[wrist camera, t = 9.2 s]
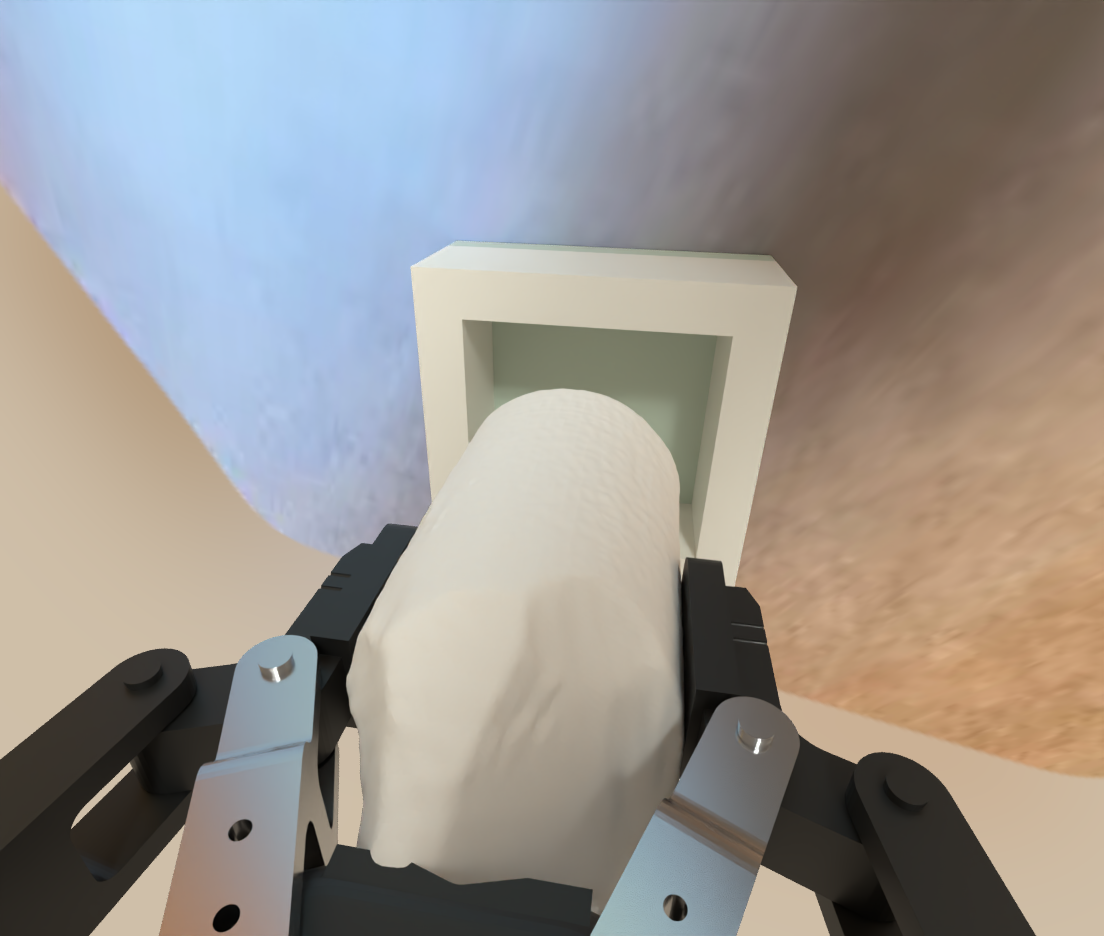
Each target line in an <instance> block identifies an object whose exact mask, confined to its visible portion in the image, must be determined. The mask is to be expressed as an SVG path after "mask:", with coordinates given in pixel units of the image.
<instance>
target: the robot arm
mask: <svg viewBox="0 0 1104 936" xmlns="http://www.w3.org/2000/svg"><path fill="white" fill-rule="evenodd" d="M417 528H418V527H416V526H406V525H397V524H387V525H386V526H385V527H384V528H383V530H382V531H381V533H380V534H379V536H378V537H377V539H376V540H375V541H374V543H373V544H365V543H361V544H360V545H358V546H357V547H356V548H354V549H353V550H351V551H350V552H348V553H347V554H345V555H344V556H343V557H342V558H341V559H340V561H339V562H338V563H337V565H336V566H335V567H334V569H333V570H332V571H331V575H330V576H328V577H327V578H326V580H325V581H324V582H323V584H322V585H321V589H318V591H317V592H316V593H315V595H314V596H313V598H312V599H311V600H310V601H309V603H308V604H307V606H306V607H305V608H304V610H303V611H302V612H301V614H300V615H299V617H298V618H297V619H296V621H295V622H294V623H293V625H292V626H291V627H290V629H289V630H288V631H287V633H286V634H285V635H284V636H278V637H273V638H270V639H267V640H265V641H263V642H261V643H259V644H257V645H255V646H254V647H253V648H251V649H250V650H248V651H247V652H246V653H245V654H244V655H243V656H242V658H241V659H240V660H239V662H238V663H236V664H231V665H223V666H215V667H207V668H199V669H192V668H191V665H190V663H189V660H188V658H187V656H186V655H185V654H183V653H182V652H180V651H178V650H174V649H155V650H150V651H146V652H143V653H140V654H137V655H135V656H133V657H131V658H129V659H127V660H125V661H123V662H122V663H120V664H119V665H117V666H116V667H115V668H113V669H112V670H111V671H110V672H108V673H107V674H106V675H105V676H103V677H102V678H101V679H100V680H98V681H97V682H96V683H95V684H93V685H92V686H91V687H90V688H88V689H87V690H86V691H85V692H84V693H82V694H81V695H80V696H79V697H77V698H76V699H75V700H74V701H72V702H71V703H70V704H69V705H67V706H66V707H65V708H64V709H62V710H61V711H60V712H59V713H57V714H56V715H55V716H54V717H53V718H51V719H50V720H49V721H48V722H46V723H45V724H44V725H43V726H41V727H40V728H39V729H38V730H36V731H35V732H34V733H33V734H31V735H30V736H29V737H28V738H27V739H25V740H24V741H23V742H22V743H20V744H19V745H18V746H17V747H15V748H14V749H13V750H12V751H10V752H9V753H8V754H7V755H6V756H4V757H3V758H2V759H0V936H89V935H90V934H91V933H92V932H93V930H94V929H95V928H96V927H97V926H98V924H99V923H100V922H101V921H102V920H103V919H104V918H105V916H106V915H107V914H108V913H109V912H110V911H111V909H112V908H113V907H114V906H115V905H116V904H117V902H118V901H119V900H120V899H121V898H122V897H123V895H124V894H125V893H126V892H127V891H128V890H129V888H130V887H131V886H132V885H133V884H134V883H135V881H136V880H137V879H138V878H139V877H140V876H141V874H142V873H143V872H144V871H145V870H146V869H147V868H148V866H149V865H150V864H151V863H152V862H153V860H154V859H155V858H156V857H157V856H158V855H159V853H160V852H161V851H162V850H163V849H164V848H165V847H166V845H167V844H168V843H169V842H170V841H171V840H172V838H173V837H174V836H175V835H176V834H177V833H178V831H179V830H180V829H181V828H182V827H183V825H184V824H185V827H184V832H183V836H182V840H181V844H180V848H179V853H178V857H177V861H176V865H175V870H174V874H173V878H172V882H171V886H170V891H169V895H168V899H167V904H166V908H165V912H164V916H163V921H162V924H161V929H160V933H159V936H736V935H737V932H738V929H739V926H740V923H741V920H742V917H743V914H744V911H745V909H746V906H747V903H748V900H749V897H750V894H751V891H752V888H753V885H754V882H755V879H756V876H757V873H758V870H759V867H760V864H761V865H763V866H765V867H766V868H769V869H770V870H772V871H775V872H776V873H778V874H780V875H782V876H784V877H786V878H788V879H790V880H792V881H794V882H796V883H798V884H800V885H802V886H804V887H806V888H808V889H810V890H812V891H814V892H815V894H816V897H817V900H818V903H819V906H820V908H821V911H822V914H823V917H824V920H825V923H826V925H827V928H828V931H829V934H830V936H1036V935H1035V934H1034V932H1033V930H1032V928H1031V927H1030V925H1029V923H1028V922H1027V920H1026V919H1025V917H1024V916H1023V914H1022V912H1021V910H1020V909H1019V907H1018V906H1017V904H1016V902H1015V900H1014V899H1013V897H1012V895H1011V894H1010V892H1009V891H1008V889H1007V887H1006V886H1005V884H1004V882H1003V881H1002V879H1001V877H1000V876H999V874H998V872H997V871H996V869H995V867H994V866H993V864H992V863H991V861H990V859H989V857H988V856H987V854H986V852H985V851H984V849H983V848H982V846H981V844H980V843H979V841H978V839H977V838H976V836H975V834H974V833H973V831H972V829H971V828H970V826H969V824H968V823H967V821H966V819H965V818H964V816H963V815H962V813H961V811H960V810H959V808H958V806H957V805H956V803H955V801H954V800H953V798H952V796H951V795H950V793H949V792H948V790H947V789H946V787H945V786H944V785H943V784H942V783H941V781H940V780H939V779H938V778H936V776H934V775H933V774H932V773H931V772H930V771H929V770H927V769H926V768H924V767H923V766H921V765H920V764H918V763H916V762H915V761H913V760H911V759H908V758H906V757H903V756H900V755H897V754H893V753H885V752H879V753H872V754H868V755H867V756H865V757H863V758H862V759H861V760H860V761H859V762H858V764H855V763H852V762H850V761H847V760H845V759H842V758H840V757H838V756H835V755H833V754H831V753H828V752H826V751H824V750H822V749H820V748H818V747H816V746H814V745H812V744H811V743H809V742H808V741H807V740H805V739H804V738H803V737H801V736H800V735H799V734H798V732H797V730H796V727H795V726H794V724H793V723H792V721H791V720H790V719H789V718H788V717H787V715H786V714H784V713H783V712H782V709H781V706H780V702H779V697H778V692H777V687H776V682H775V677H774V673H773V668H772V663H771V658H770V653H769V649H768V646H767V639H766V634H765V630H764V624H763V620H762V615H761V610H760V606H759V605H758V603H757V602H756V601H755V599H754V598H753V597H752V595H751V594H750V593H749V592H748V590H747V589H746V588H741V587H733V586H726V585H725V578H724V571H723V564H722V561H718V560H709V559H700V558H691V557H686V559H685V563H684V569H683V575H682V581H681V597H682V626H683V656H684V707H685V713H684V749H683V756H682V761H681V767H680V776H679V779H680V780H679V782H678V784H677V786H676V788H675V790H674V792H673V794H672V795H671V797H670V798H669V799H667V798H664V799H663V800H662V801H661V803H660V804H659V806H658V807H657V809H656V811H655V813H654V814H653V816H652V818H651V820H650V822H649V824H648V826H647V828H646V830H645V832H644V834H643V836H642V837H641V839H640V841H639V843H638V845H637V847H636V849H635V851H634V853H633V855H632V857H631V858H630V860H629V862H628V864H627V866H626V868H625V870H624V872H623V874H622V876H621V878H620V880H619V881H618V883H617V885H616V887H615V889H614V891H613V893H612V895H611V897H610V899H609V901H608V902H607V904H606V906H605V908H604V910H603V912H602V914H601V916H600V915H598V914H596V913H594V912H592V911H591V904H592V893H593V889H587V888H582V887H576V886H570V885H565V884H559V883H554V882H548V881H542V880H537V879H531V878H522V879H512V880H502V881H493V882H483V883H474V884H464V885H459V884H454V883H451V882H449V881H447V880H445V879H443V878H441V877H439V876H437V875H435V874H434V873H432V872H430V871H428V870H426V869H424V868H422V867H420V866H418V865H416V864H414V863H412V862H411V863H410V864H409V865H408V866H406V867H402V868H395V867H386V866H381V865H379V864H377V863H375V862H374V860H373V859H372V857H371V853H370V850H367V849H362V848H356V847H350V846H345V845H339V844H338V791H339V790H338V789H339V747H338V741H339V739H340V736H341V735H342V733H343V731H344V729H345V727H353V728H357V726H356V723H355V721H354V718H353V716H352V714H351V712H350V707H349V697H348V693H347V688H346V678H347V675H348V673H349V670H350V667H351V664H352V658H353V654H354V650H355V646H356V642H357V638H358V635H359V633H360V631H361V630H362V628H363V626H364V624H365V622H366V620H367V618H368V617H369V615H370V613H371V610H372V609H373V606H374V604H375V602H376V600H377V598H378V596H379V595H380V593H381V591H382V590H383V588H384V586H385V584H386V582H387V580H388V578H389V576H390V574H391V572H392V571H393V569H394V567H395V566H396V564H397V562H398V560H399V558H400V557H401V555H402V554H403V552H404V551H405V550H406V549H407V547H408V544H409V543H410V541H411V539H412V537H413V536H414V534H415V532H416V530H417ZM129 762H130V764H131V766H132V768H133V769H132V770H131V771H130V772H129V773H128V774H127V775H126V776H125V777H124V778H123V779H122V780H121V781H120V782H119V783H118V784H117V785H116V786H115V787H114V788H113V789H112V790H111V791H110V792H109V793H108V794H107V795H106V796H104V797H103V799H102V800H100V801H99V802H98V803H97V804H96V805H95V806H94V807H93V808H92V809H91V810H90V811H89V812H88V813H87V814H86V815H85V816H84V817H83V818H82V819H81V820H80V821H79V822H78V823H77V824H76V825H75V826H74V827H73V828H72V829H71V827H72V824H73V822H74V820H75V818H76V816H77V815H78V813H79V812H80V811H81V809H82V808H83V807H84V806H85V805H86V804H87V803H88V802H89V801H90V800H91V799H92V798H93V797H94V796H95V795H96V794H97V793H98V792H99V791H100V790H101V789H102V788H103V787H104V786H106V785H107V784H108V783H109V782H110V781H111V780H112V779H113V778H114V777H115V776H116V775H117V774H118V773H119V772H120V771H121V770H122V769H123V768H124V767H125V766H126V765H127V764H128V763H129Z"/></svg>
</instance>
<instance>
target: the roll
mask: <svg viewBox="0 0 1104 936" xmlns="http://www.w3.org/2000/svg"><path fill="white" fill-rule="evenodd" d="M679 494H680V482H679V475H678V472H677V470H676V465H675V462H674V460H673V457H672V455H671V453H670V451H669V449H668V448H667V447H666V445H665V444H664V442H663V441H662V439H661V438H660V437H659V436H658V435H657V433H656V432H655V431H654V430H653V429H652V428H651V427H650V425H649V424H648V423H647V422H646V421H645V420H644V419H643V418H642V417H641V416H639V415H638V414H636V413H635V412H634V411H633V410H632V409H630V408H628V407H627V406H626V405H624V404H622V403H621V402H619V401H617V400H614V399H612V398H610V397H608V396H605V395H602V394H599V393H594V392H590V391H586V390H573V389H564V388H562V389H552V390H539V391H535V392H532V393H528V394H525V395H522V396H520V397H517V398H515V399H513V400H511V401H509V402H507V403H505V404H503V405H502V406H500V407H499V408H498V409H496V410H495V411H494V412H492V413H491V414H490V415H489V416H488V417H487V418H486V419H485V420H484V422H483V423H482V425H481V426H480V428H479V429H478V430H477V432H476V434H475V435H474V437H473V439H472V440H471V442H470V443H469V444H468V445H467V448H466V450H465V452H464V453H463V455H462V456H461V458H460V460H459V462H458V464H457V465H456V466H455V467H454V468H453V469H452V471H451V472H450V474H449V476H448V478H447V479H446V481H445V483H444V485H443V487H442V488H441V489H440V491H439V492H438V494H437V496H436V497H435V499H434V500H433V502H432V503H431V505H430V507H429V509H428V511H427V513H426V514H425V515H424V517H423V518H422V521H421V523H420V524H419V526H418V528H417V530H416V532H415V534H414V536H413V537H412V539H411V541H410V543H409V544H408V547H407V549H406V550H405V551H404V552H403V554H402V555H401V557H400V558H399V560H398V562H397V564H396V566H395V567H394V569H393V571H392V572H391V574H390V576H389V578H388V580H387V582H386V584H385V586H384V588H383V590H382V591H381V593H380V595H379V596H378V598H377V600H376V602H375V604H374V606H373V609H372V610H371V613H370V615H369V617H368V618H367V620H366V622H365V624H364V626H363V628H362V630H361V631H360V633H359V635H358V638H357V642H356V646H355V650H354V654H353V658H352V664H351V667H350V670H349V673H348V675H347V678H346V688H347V693H348V697H349V707H350V712H351V714H352V716H353V718H354V721H355V723H356V726H357V729H358V733H359V749H360V777H361V786H362V793H363V810H362V817H361V824H360V829H359V835H358V841H357V847H356V848H362V849H367V850H370V853H371V857H372V859H373V860H374V862H375V863H377V864H379V865H381V866H386V867H395V868H402V867H406V866H408V865H409V864H410V863H411V862H412V863H414V864H416V865H418V866H420V867H422V868H424V869H426V870H428V871H430V872H432V873H434V874H435V875H437V876H439V877H441V878H443V879H445V880H447V881H449V882H451V883H454V884H459V885H464V884H474V883H483V882H493V881H502V880H512V879H522V878H531V879H537V880H542V881H548V882H554V883H559V884H565V885H570V886H576V887H582V888H587V889H593V893H592V904H591V911H592V912H594V913H596V914H598V915H600V916H601V914H602V912H603V910H604V908H605V906H606V904H607V902H608V901H609V899H610V897H611V895H612V893H613V891H614V889H615V887H616V885H617V883H618V881H619V880H620V878H621V876H622V874H623V872H624V870H625V868H626V866H627V864H628V862H629V860H630V858H631V857H632V855H633V853H634V851H635V849H636V847H637V845H638V843H639V841H640V839H641V837H642V836H643V834H644V832H645V830H646V828H647V826H648V824H649V822H650V820H651V818H652V816H653V814H654V813H655V811H656V809H657V807H658V806H659V804H660V803H661V801H662V800H663V799H664V798H667V799H669V798H670V797H671V795H672V794H673V792H674V790H675V788H676V786H677V784H678V782H679V776H680V767H681V761H682V756H683V749H684V713H685V707H684V656H683V626H682V597H681V569H680V564H681V561H680V545H679Z"/></svg>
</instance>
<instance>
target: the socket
mask: <svg viewBox="0 0 1104 936" xmlns="http://www.w3.org/2000/svg"><path fill="white" fill-rule="evenodd" d="M411 276H412V287H413V298H414V309H415V320H416V332H417V343H418V354H419V365H420V376H421V387H422V398H423V409H424V420H425V431H426V443H427V454H428V465H429V476H430V487H431V498H432V502H433V500H434V499H435V497H436V496H437V494H438V492H439V491H440V489H441V488H442V487H443V485H444V483H445V481H446V479H447V478H448V476H449V474H450V472H451V471H452V469H453V468H454V467H455V466H456V465H457V464H458V462H459V460H460V458H461V456H462V455H463V453H464V452H465V450H466V448H467V445H468V444H469V443H470V442H471V440H472V439H473V437H474V435H475V434H476V432H477V430H478V429H479V428H480V426H481V425H482V423H483V422H484V420H485V419H486V418H487V417H488V416H489V415H490V414H491V413H492V412H494V411H495V410H496V409H498V408H499V407H500V406H502V405H503V404H505V403H507V402H509V401H511V400H513V399H515V398H517V397H520V396H522V395H525V394H528V393H532V392H535V391H539V390H552V389H562V388H564V389H573V390H586V391H590V392H594V393H599V394H602V395H605V396H608V397H610V398H612V399H614V400H617V401H619V402H621V403H622V404H624V405H626V406H627V407H628V408H630V409H632V410H633V411H634V412H635V413H636V414H638V415H639V416H641V417H642V418H643V419H644V420H645V421H646V422H647V423H648V424H649V425H650V427H651V428H652V429H653V430H654V431H655V432H656V433H657V435H658V436H659V437H660V438H661V439H662V441H663V442H664V444H665V445H666V447H667V448H668V449H669V451H670V453H671V455H672V457H673V460H674V462H675V465H676V470H677V472H678V475H679V482H680V494H679V545H680V561H681V564H680V569H681V581H682V575H683V569H684V563H685V559H686V557H691V558H700V559H709V560H718V561H722V564H723V571H724V578H725V585H726V586H733V587H735V582H736V577H737V572H738V568H739V563H740V558H741V553H742V549H743V544H744V539H745V534H746V530H747V525H748V520H749V515H750V511H751V506H752V501H753V496H754V492H755V487H756V482H757V477H758V473H759V468H760V463H761V458H762V454H763V449H764V444H765V439H766V435H767V430H768V425H769V420H770V416H771V411H772V406H773V401H774V397H775V392H776V387H777V382H778V378H779V373H780V368H781V363H782V359H783V354H784V349H785V344H786V340H787V335H788V330H789V325H790V321H791V316H792V311H793V306H794V302H795V297H796V292H797V286H796V285H795V283H794V282H793V281H792V280H791V279H790V278H789V276H788V275H787V274H786V273H785V272H784V270H783V269H782V268H781V267H780V266H779V264H778V263H777V262H776V261H775V260H774V258H773V257H772V256H771V255H753V254H732V253H711V252H689V251H668V250H647V249H625V248H604V247H583V246H561V245H540V244H519V243H498V242H476V241H455V242H454V243H452V244H450V245H448V246H446V247H445V248H443V249H441V250H439V251H438V252H436V253H434V254H432V255H430V256H429V257H427V258H425V259H423V260H422V261H420V262H418V263H416V264H414V265H413V266H411Z"/></svg>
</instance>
